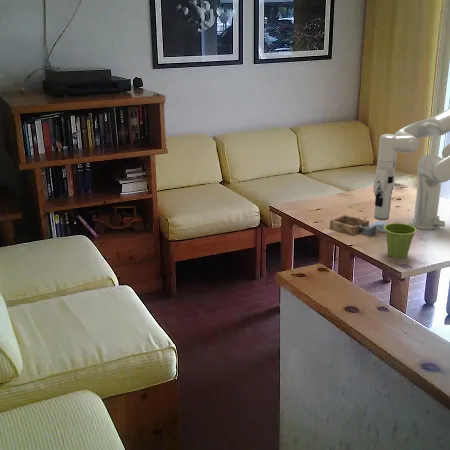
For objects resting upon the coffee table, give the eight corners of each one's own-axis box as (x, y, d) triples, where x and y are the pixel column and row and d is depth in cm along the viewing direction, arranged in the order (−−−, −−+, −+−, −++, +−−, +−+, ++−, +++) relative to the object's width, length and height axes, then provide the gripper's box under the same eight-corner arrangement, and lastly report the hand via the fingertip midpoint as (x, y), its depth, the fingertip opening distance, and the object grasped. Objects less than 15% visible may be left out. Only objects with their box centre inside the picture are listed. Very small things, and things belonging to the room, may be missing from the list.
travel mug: (370, 216, 245) (374, 172, 238) (383, 215, 247) (388, 171, 240) (378, 221, 240) (382, 176, 233) (391, 219, 241) (396, 175, 234)
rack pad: (398, 227, 245) (398, 226, 245) (386, 233, 238) (387, 232, 238) (378, 221, 252) (378, 220, 251) (366, 227, 245) (366, 226, 245)
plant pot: (375, 252, 219) (377, 225, 215) (399, 247, 224) (402, 221, 220) (395, 263, 209) (398, 235, 205) (420, 258, 214) (423, 230, 210)
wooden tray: (368, 228, 244) (369, 221, 243) (354, 235, 236) (354, 227, 235) (344, 221, 252) (345, 214, 251) (329, 228, 245) (330, 220, 244)
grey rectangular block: (375, 233, 238) (376, 226, 237) (370, 236, 235) (370, 229, 234) (360, 229, 243) (361, 222, 242) (355, 232, 240) (355, 225, 239)
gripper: (389, 158, 243) (385, 198, 249) (367, 166, 232) (364, 206, 238) (405, 161, 238) (400, 201, 244) (383, 169, 227) (379, 210, 233)
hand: (382, 203), depth 241 cm, fingers closed on travel mug, 6 cm apart
